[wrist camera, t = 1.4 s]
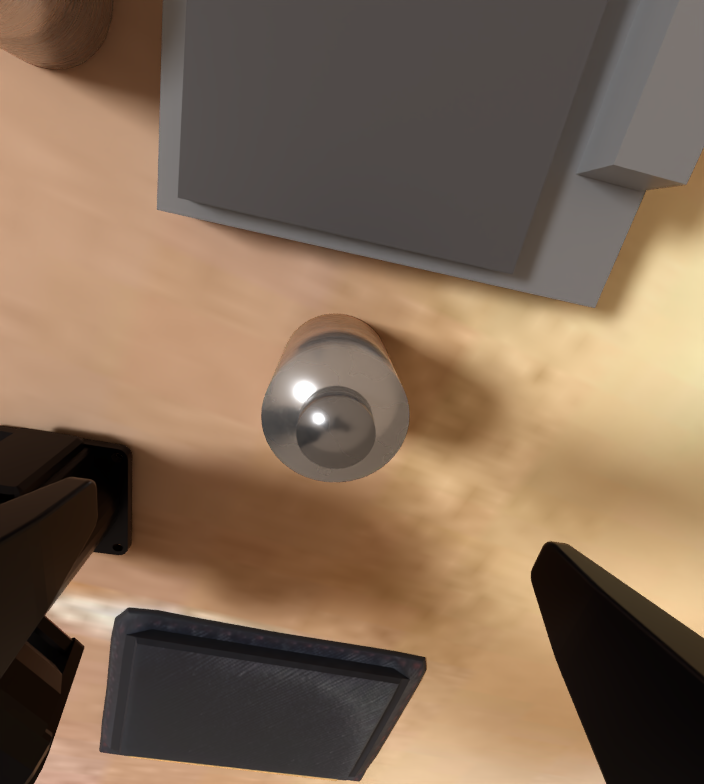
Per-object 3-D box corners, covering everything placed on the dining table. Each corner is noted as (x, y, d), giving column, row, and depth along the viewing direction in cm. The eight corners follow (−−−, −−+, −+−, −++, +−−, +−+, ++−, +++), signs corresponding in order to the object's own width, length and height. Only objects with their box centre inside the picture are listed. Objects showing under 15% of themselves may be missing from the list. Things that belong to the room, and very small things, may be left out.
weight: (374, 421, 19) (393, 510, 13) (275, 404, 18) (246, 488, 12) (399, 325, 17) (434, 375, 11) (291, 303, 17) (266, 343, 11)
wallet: (439, 679, 25) (359, 805, 30) (432, 649, 26) (358, 773, 32) (106, 618, 21) (82, 771, 27) (123, 588, 23) (97, 738, 28)
